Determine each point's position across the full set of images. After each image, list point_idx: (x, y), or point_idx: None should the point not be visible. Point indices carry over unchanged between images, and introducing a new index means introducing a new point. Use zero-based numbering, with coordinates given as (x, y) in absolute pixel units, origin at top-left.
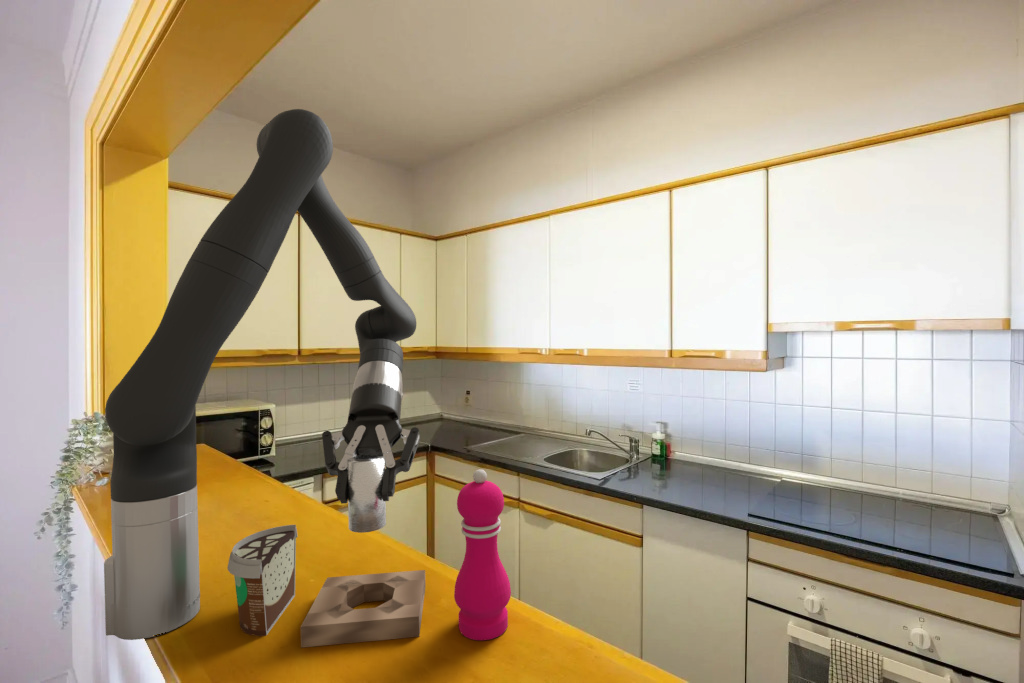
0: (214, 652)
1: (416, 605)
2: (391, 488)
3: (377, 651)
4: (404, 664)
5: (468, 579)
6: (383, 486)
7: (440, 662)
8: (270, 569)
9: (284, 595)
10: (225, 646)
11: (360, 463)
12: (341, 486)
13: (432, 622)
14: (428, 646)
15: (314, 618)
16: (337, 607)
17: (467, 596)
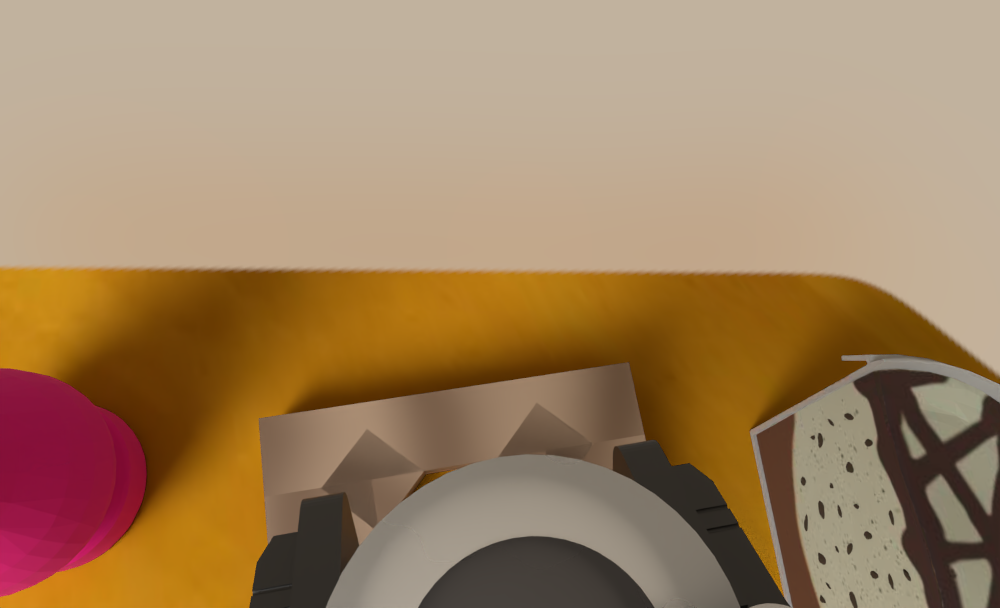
0: (842, 354)
1: (277, 486)
2: (273, 554)
3: (386, 358)
4: (296, 305)
5: (1, 388)
6: (332, 532)
7: (197, 313)
8: (862, 463)
9: (806, 585)
10: (832, 380)
11: (525, 457)
12: (675, 488)
13: (241, 504)
14: (239, 380)
15: (607, 405)
16: None
17: (40, 378)
